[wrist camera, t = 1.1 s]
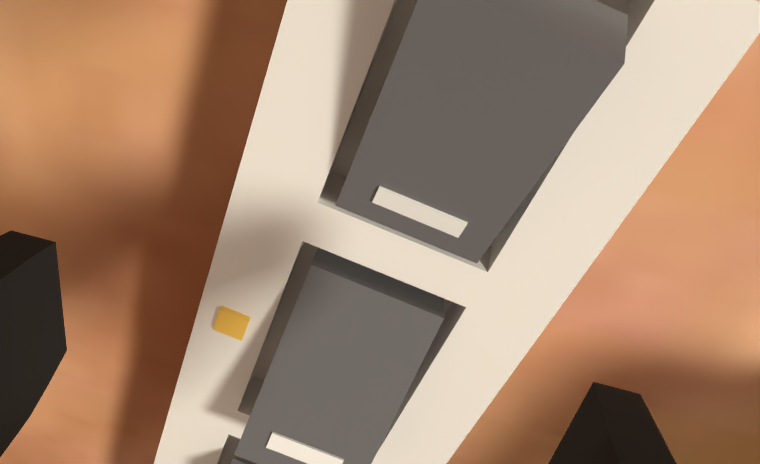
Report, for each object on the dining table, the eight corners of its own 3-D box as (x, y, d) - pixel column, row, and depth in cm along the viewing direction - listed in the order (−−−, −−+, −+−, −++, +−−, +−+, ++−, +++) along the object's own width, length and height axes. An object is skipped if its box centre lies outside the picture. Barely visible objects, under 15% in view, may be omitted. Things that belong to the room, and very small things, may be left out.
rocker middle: (444, 292, 18) (444, 319, 17) (358, 465, 21) (352, 502, 19) (320, 242, 18) (310, 266, 17) (247, 423, 20) (233, 456, 19)
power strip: (969, -403, 12) (1111, -445, 9) (358, 526, 29) (339, 612, 26) (512, -631, 11) (502, -756, 8) (172, 455, 29) (131, 536, 26)
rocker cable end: (628, 15, 12) (624, 66, 11) (487, 217, 17) (476, 266, 16) (444, -66, 12) (425, -20, 11) (353, 162, 17) (334, 207, 16)
